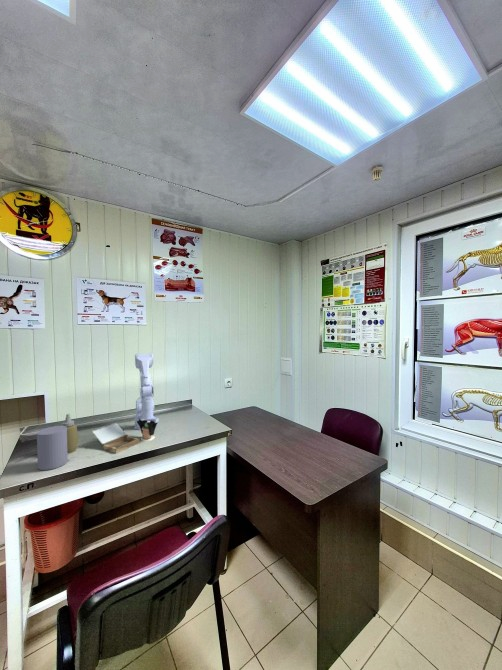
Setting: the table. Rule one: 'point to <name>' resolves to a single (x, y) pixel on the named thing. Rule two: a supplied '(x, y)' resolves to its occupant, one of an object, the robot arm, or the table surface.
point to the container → (52, 447)
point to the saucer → (148, 439)
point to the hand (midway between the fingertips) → (147, 434)
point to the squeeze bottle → (71, 434)
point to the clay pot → (146, 432)
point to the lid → (108, 433)
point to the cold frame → (120, 443)
